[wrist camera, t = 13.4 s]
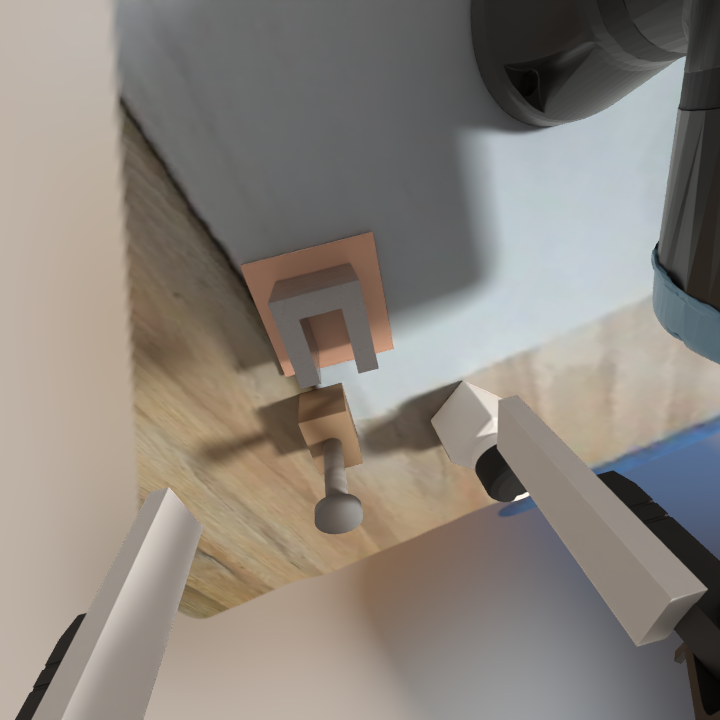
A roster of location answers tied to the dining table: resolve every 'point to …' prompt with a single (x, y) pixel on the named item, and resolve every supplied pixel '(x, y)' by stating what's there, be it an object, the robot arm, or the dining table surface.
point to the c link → (315, 297)
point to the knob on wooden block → (332, 455)
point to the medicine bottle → (477, 440)
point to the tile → (330, 324)
